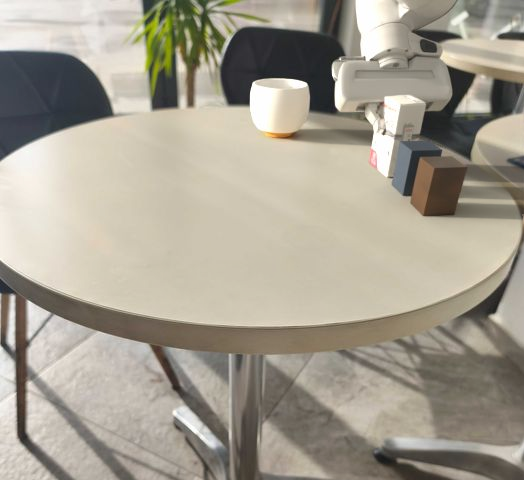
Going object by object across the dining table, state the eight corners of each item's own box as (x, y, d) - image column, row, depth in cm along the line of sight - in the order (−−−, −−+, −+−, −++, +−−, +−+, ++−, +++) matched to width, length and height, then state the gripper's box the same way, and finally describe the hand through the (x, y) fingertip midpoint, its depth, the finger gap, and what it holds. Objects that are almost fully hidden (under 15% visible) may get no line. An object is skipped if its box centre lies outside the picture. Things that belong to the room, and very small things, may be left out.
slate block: (419, 183, 84) (429, 140, 79) (431, 194, 80) (442, 149, 76) (391, 184, 83) (399, 141, 79) (402, 195, 79) (411, 150, 75)
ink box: (367, 162, 92) (378, 92, 85) (392, 161, 93) (404, 91, 86) (386, 178, 85) (399, 103, 78) (412, 176, 86) (428, 102, 79)
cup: (256, 143, 100) (257, 90, 94) (244, 127, 109) (244, 78, 103) (314, 141, 102) (319, 89, 96) (297, 125, 111) (300, 77, 105)
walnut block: (439, 201, 78) (451, 155, 73) (454, 214, 74) (467, 167, 69) (409, 202, 77) (419, 156, 73) (423, 215, 73) (434, 168, 69)
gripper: (335, 43, 82) (344, 122, 80) (450, 44, 84) (462, 120, 83) (325, 69, 88) (334, 142, 86) (433, 69, 91) (443, 140, 89)
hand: (397, 131), depth 85 cm, fingers closed on ink box, 5 cm apart
